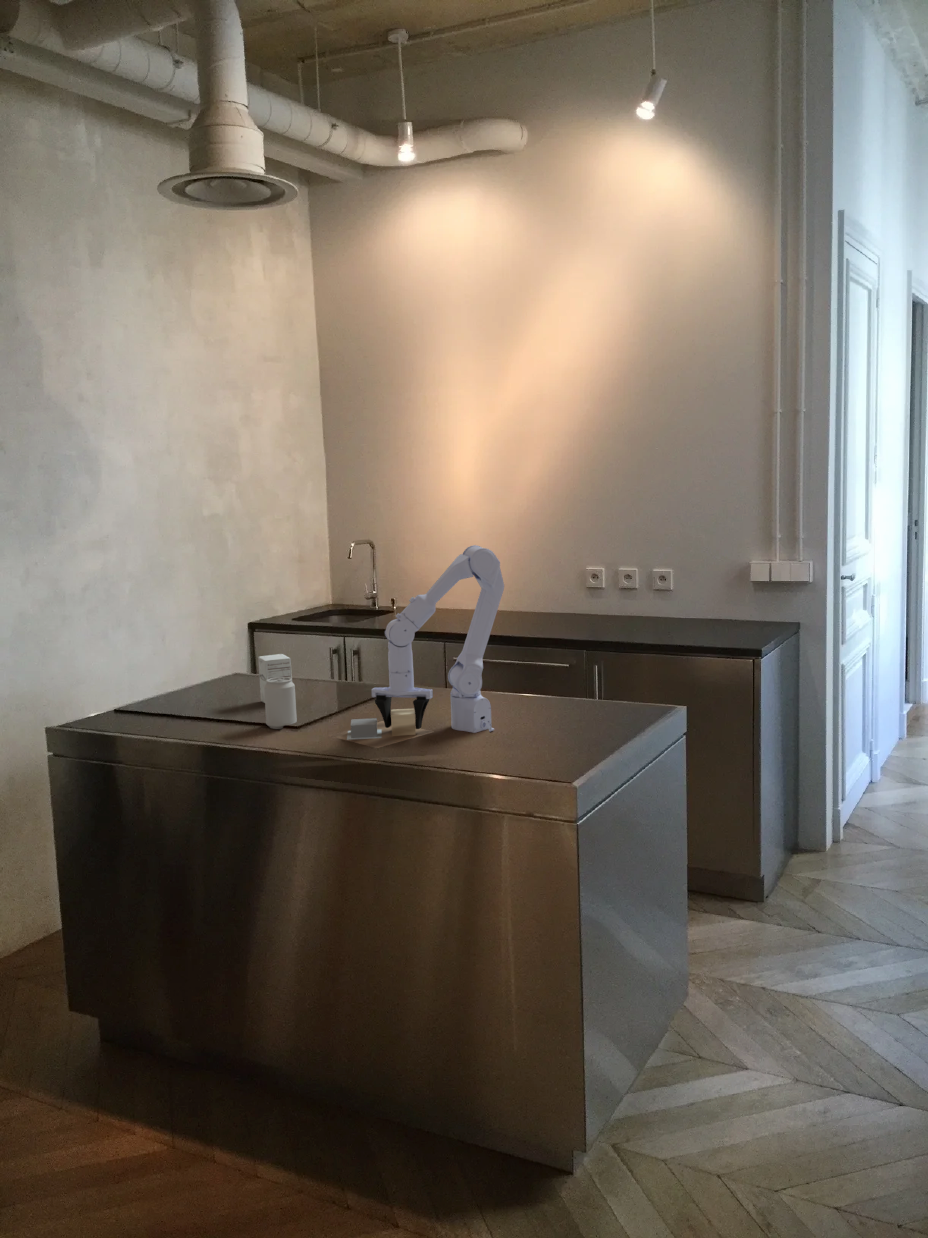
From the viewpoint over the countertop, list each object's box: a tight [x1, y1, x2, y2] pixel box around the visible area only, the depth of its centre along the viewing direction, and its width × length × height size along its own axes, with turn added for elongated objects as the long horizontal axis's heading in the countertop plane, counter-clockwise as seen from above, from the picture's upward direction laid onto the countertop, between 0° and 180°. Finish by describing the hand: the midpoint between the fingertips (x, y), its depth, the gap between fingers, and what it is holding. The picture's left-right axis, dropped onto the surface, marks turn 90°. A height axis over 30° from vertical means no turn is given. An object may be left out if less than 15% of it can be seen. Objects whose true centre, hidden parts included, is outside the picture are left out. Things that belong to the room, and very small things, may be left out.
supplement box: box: [257, 653, 293, 704], centre depth 299 cm, size 7×7×13 cm
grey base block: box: [350, 717, 378, 738], centre depth 258 cm, size 6×6×3 cm
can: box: [264, 677, 298, 730], centre depth 272 cm, size 8×8×12 cm
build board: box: [327, 720, 435, 749], centre depth 259 cm, size 18×18×1 cm
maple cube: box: [391, 708, 416, 736], centre depth 259 cm, size 6×6×5 cm
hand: (403, 727), depth 259 cm, fingers closed on maple cube, 7 cm apart
